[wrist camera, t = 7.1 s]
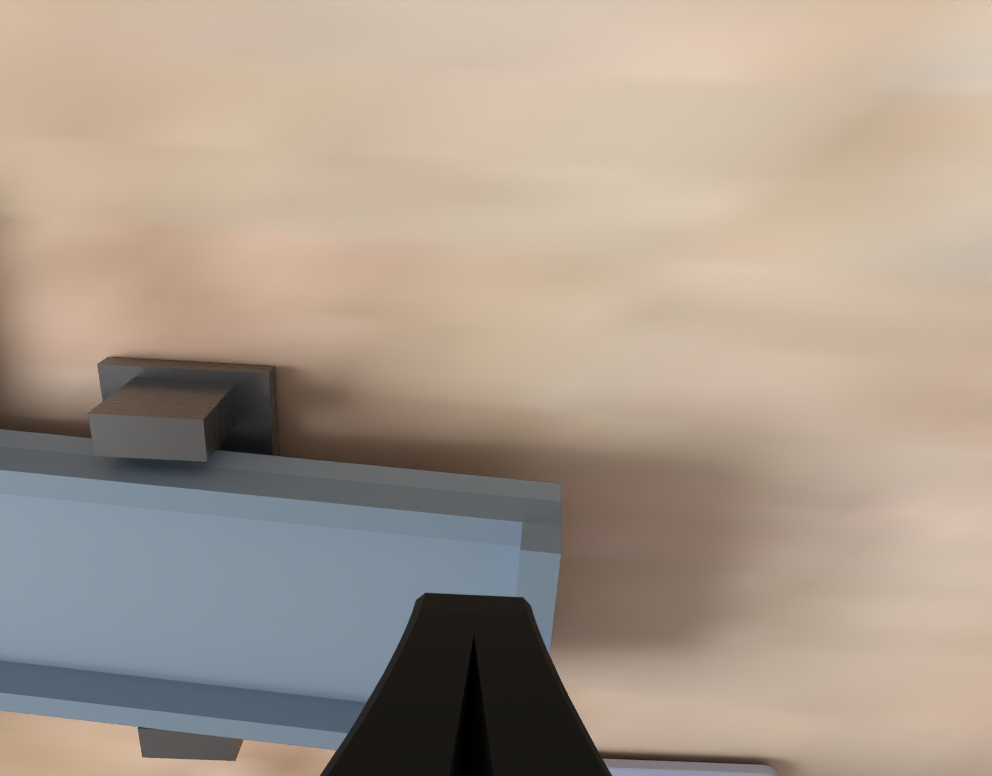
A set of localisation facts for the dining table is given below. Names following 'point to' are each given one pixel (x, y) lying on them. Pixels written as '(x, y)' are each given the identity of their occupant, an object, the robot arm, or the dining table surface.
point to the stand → (184, 454)
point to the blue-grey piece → (241, 581)
